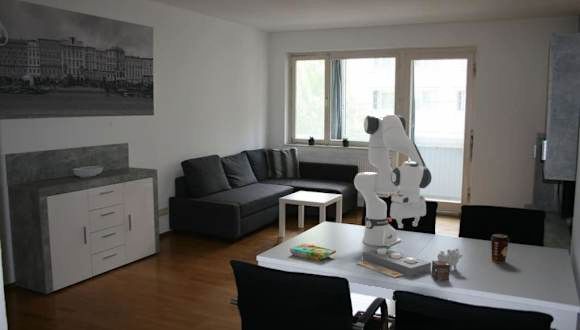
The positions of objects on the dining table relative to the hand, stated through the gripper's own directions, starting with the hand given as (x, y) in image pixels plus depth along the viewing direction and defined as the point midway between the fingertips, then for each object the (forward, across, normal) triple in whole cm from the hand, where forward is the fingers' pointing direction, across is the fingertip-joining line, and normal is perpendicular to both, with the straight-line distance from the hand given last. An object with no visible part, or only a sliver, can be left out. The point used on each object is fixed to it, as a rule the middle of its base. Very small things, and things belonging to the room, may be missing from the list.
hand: (407, 226), depth 234 cm
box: (+21, -5, +16) cm, 27 cm away
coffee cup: (+19, -50, +15) cm, 56 cm away
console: (+20, -2, -8) cm, 22 cm away
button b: (+18, -2, -8) cm, 20 cm away
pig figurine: (+20, -20, +9) cm, 30 cm away
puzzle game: (+22, +23, -41) cm, 51 cm away
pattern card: (+21, +9, -7) cm, 24 cm away
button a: (+18, -1, -17) cm, 25 cm away
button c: (+18, -2, +1) cm, 18 cm away
